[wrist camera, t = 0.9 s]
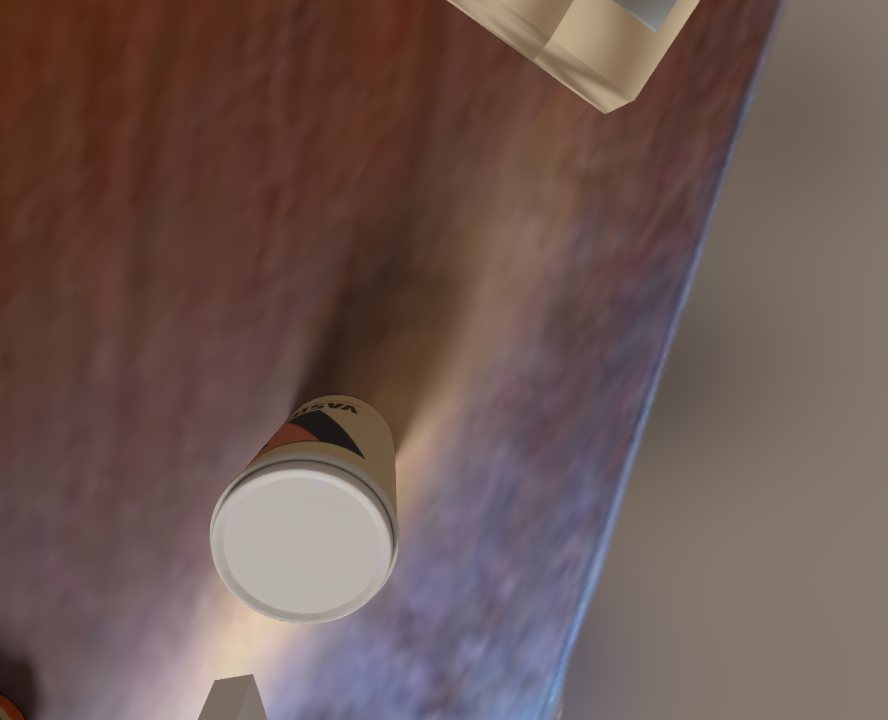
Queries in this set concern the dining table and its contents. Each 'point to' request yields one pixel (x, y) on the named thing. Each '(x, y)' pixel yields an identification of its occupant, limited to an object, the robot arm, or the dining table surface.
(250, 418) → the dining table surface
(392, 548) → the white lidded canister
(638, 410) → the dining table surface
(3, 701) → the hamburger
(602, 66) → the socket block
